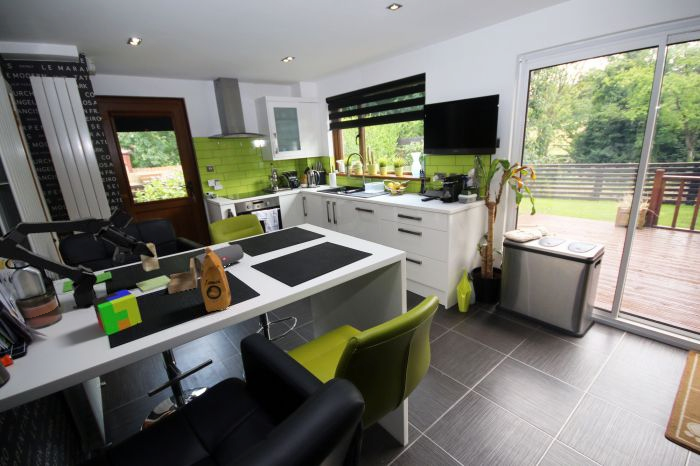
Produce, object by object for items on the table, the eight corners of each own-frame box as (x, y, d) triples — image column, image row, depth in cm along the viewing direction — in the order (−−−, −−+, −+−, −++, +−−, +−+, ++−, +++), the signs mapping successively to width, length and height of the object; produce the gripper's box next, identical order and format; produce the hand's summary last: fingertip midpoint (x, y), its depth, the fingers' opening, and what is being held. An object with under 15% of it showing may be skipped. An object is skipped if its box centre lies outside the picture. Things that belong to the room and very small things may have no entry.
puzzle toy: (132, 313, 118) (125, 289, 115) (141, 322, 112) (135, 296, 109) (99, 325, 110) (91, 299, 108) (107, 335, 104) (100, 308, 102)
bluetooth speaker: (204, 277, 148) (200, 257, 146) (194, 273, 154) (190, 254, 151) (245, 262, 166) (243, 244, 163) (235, 259, 171) (232, 241, 169)
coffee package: (202, 315, 114) (191, 258, 108) (205, 300, 125) (195, 248, 119) (231, 309, 117) (222, 253, 111) (231, 295, 128) (223, 244, 122)
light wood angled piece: (169, 294, 133) (164, 271, 130) (171, 282, 144) (167, 262, 142) (197, 288, 137) (192, 266, 134) (197, 277, 148) (193, 257, 146)
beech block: (146, 271, 138) (141, 247, 136) (143, 269, 142) (138, 245, 139) (159, 268, 142) (154, 244, 139) (155, 265, 145) (150, 242, 142)
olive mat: (143, 292, 136) (143, 290, 136) (136, 284, 144) (135, 283, 144) (173, 282, 144) (173, 281, 144) (164, 276, 152) (164, 275, 152)
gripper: (98, 250, 134) (134, 266, 145) (108, 258, 122) (146, 276, 132) (116, 228, 138) (150, 246, 148) (127, 234, 125) (163, 253, 136)
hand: (152, 255), depth 141 cm, fingers closed on beech block, 5 cm apart
